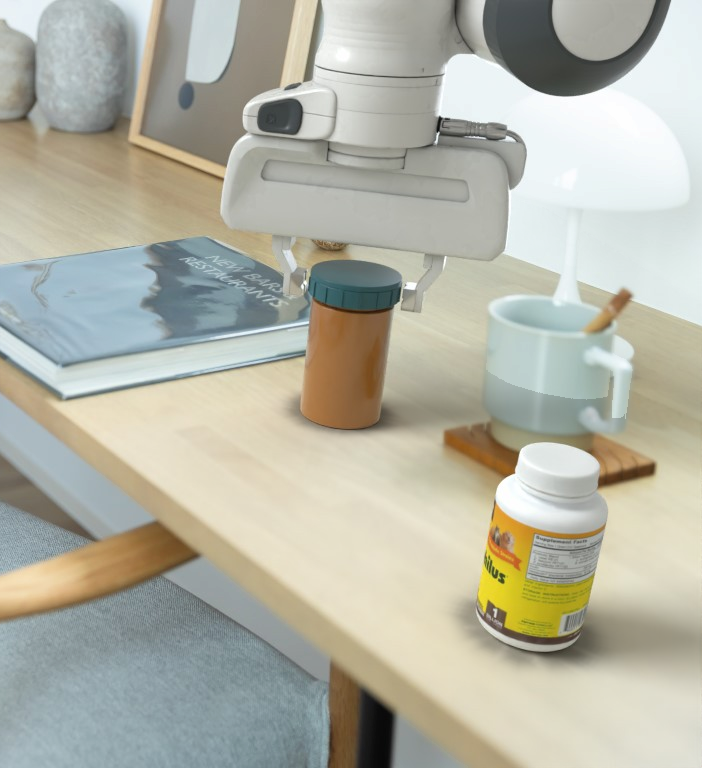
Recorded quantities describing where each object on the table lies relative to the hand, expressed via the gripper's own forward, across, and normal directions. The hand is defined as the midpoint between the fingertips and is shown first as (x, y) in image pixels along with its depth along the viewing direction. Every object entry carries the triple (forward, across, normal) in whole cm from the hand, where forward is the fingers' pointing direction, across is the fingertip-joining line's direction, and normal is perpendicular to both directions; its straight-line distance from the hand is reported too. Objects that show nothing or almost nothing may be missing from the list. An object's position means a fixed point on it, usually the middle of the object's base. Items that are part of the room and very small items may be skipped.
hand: (352, 301), depth 86 cm
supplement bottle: (+9, -14, +25) cm, 30 cm away
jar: (+9, 0, 0) cm, 9 cm away
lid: (-2, 0, 0) cm, 2 cm away
